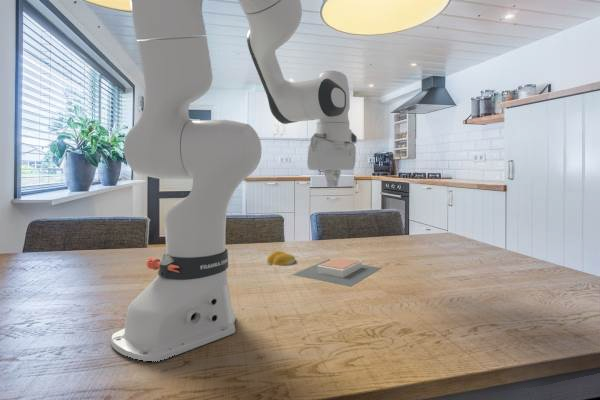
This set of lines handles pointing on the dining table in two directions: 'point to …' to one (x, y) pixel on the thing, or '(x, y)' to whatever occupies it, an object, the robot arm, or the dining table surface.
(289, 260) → the bread roll
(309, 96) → the robot arm
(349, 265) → the tile
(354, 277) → the mat
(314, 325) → the dining table surface
